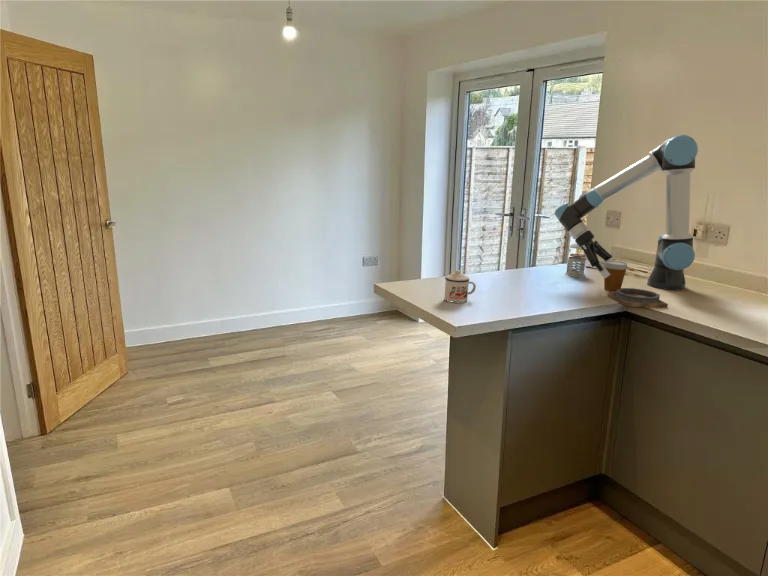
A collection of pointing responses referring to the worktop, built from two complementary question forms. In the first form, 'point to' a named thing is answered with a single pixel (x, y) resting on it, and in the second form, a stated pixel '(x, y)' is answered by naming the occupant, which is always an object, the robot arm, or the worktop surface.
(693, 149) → the robot arm
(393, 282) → the worktop surface
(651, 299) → the docking plate
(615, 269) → the disposable coffee cup
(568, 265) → the french press
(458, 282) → the teacup with lid
